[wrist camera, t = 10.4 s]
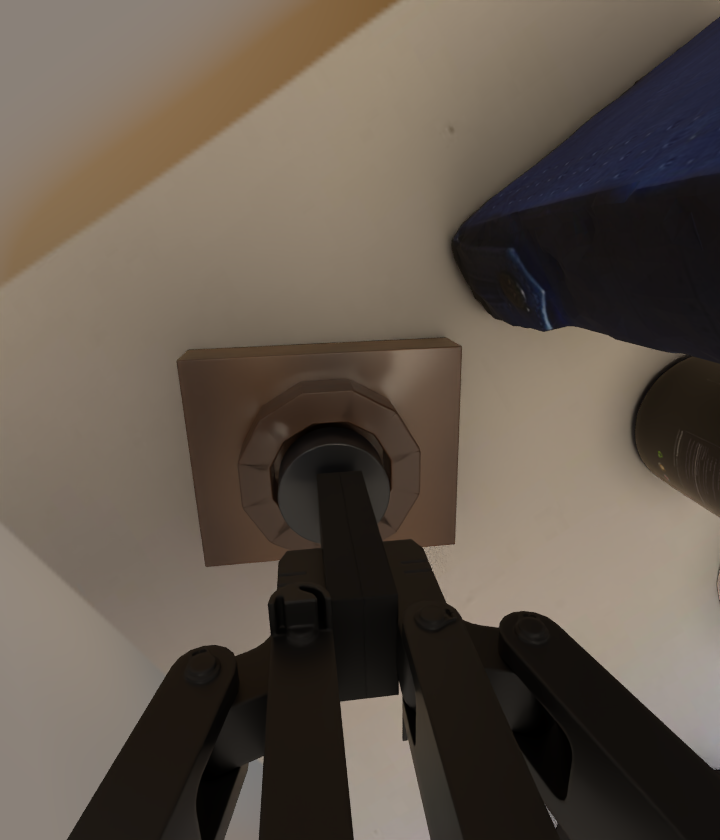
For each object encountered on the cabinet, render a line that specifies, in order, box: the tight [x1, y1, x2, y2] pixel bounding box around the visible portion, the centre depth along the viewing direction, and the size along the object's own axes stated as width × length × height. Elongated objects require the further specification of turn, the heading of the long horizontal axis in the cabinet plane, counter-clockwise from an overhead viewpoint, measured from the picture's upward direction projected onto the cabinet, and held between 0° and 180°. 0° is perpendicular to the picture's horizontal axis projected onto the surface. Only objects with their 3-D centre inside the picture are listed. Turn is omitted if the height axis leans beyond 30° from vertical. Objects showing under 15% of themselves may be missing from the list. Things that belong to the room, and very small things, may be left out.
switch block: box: [177, 338, 462, 567], centre depth 22 cm, size 11×9×4 cm
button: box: [278, 427, 390, 544], centre depth 19 cm, size 4×4×2 cm
